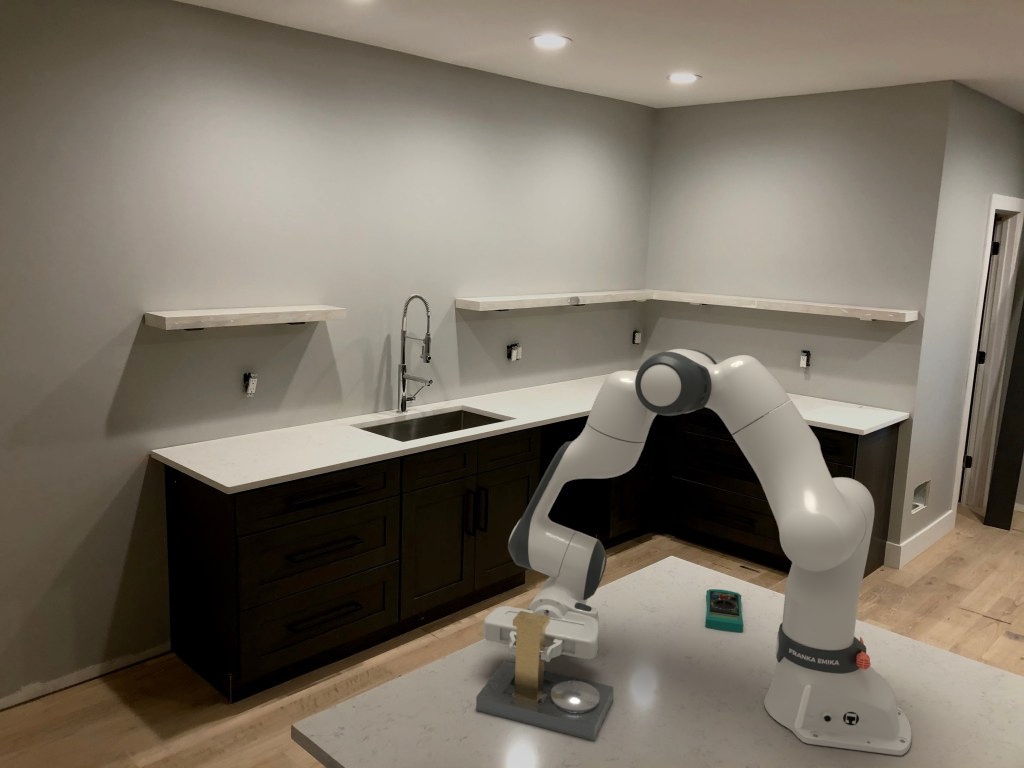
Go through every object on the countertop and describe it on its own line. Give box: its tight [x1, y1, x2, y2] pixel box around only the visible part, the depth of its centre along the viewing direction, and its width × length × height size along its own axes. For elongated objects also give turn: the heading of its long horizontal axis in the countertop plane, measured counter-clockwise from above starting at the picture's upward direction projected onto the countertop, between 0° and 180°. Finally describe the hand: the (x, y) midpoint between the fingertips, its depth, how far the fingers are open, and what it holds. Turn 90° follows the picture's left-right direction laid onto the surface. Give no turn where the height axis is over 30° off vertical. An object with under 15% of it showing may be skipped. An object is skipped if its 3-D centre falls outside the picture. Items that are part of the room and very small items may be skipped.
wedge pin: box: [513, 611, 550, 703], centre depth 132 cm, size 5×4×14 cm
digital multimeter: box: [704, 588, 744, 633], centre depth 167 cm, size 7×15×3 cm, turn 166°
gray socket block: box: [475, 660, 615, 742], centre depth 133 cm, size 20×12×3 cm, turn 69°
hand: (528, 654), depth 131 cm, fingers closed on wedge pin, 4 cm apart
